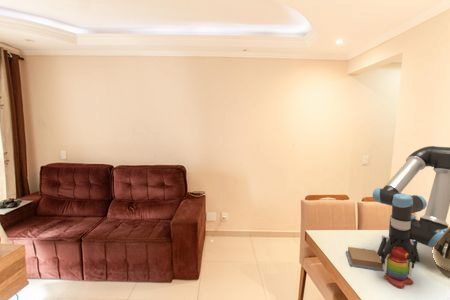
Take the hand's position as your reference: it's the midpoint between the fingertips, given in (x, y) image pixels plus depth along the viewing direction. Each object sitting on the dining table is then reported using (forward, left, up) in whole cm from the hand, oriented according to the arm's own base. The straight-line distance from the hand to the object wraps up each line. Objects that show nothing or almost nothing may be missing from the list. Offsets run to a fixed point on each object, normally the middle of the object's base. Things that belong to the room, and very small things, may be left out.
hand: (396, 272), depth 118 cm
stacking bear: (0, 0, -4) cm, 4 cm away
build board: (+11, -13, -4) cm, 18 cm away
